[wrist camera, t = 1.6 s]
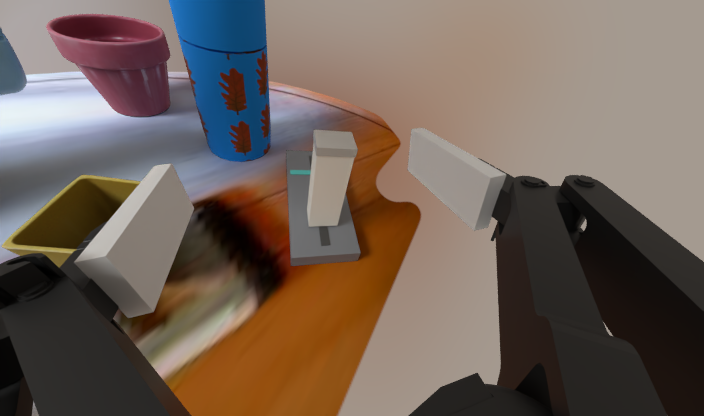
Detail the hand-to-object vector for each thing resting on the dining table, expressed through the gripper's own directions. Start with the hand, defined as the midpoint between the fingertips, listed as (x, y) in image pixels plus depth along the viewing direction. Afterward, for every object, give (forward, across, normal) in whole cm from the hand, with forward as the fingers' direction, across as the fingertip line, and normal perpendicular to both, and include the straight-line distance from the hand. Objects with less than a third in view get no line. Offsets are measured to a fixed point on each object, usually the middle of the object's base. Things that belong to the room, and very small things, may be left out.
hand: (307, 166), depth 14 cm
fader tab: (+15, +2, -15) cm, 22 cm away
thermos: (+36, -9, -10) cm, 38 cm away
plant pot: (+48, -26, -4) cm, 54 cm away
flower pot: (+13, -20, -15) cm, 28 cm away
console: (+21, +2, -16) cm, 26 cm away
